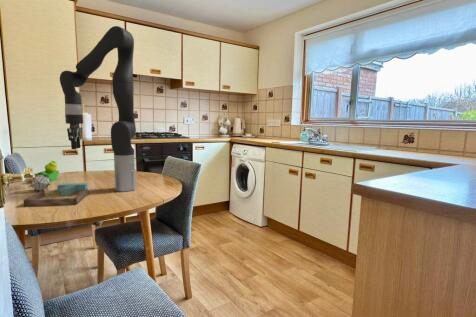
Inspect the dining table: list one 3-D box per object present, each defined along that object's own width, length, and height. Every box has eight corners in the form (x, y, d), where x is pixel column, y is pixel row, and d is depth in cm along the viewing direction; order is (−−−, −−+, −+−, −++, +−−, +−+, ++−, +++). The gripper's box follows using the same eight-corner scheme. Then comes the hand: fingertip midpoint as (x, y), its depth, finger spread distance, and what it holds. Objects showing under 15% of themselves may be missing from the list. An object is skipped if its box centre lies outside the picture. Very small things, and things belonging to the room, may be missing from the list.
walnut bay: (88, 194, 130) (88, 189, 129) (76, 204, 115) (76, 198, 115) (42, 196, 126) (41, 190, 126) (23, 206, 111) (23, 200, 111)
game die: (38, 199, 133) (21, 185, 127) (40, 189, 140) (24, 175, 134) (56, 189, 135) (40, 175, 128) (57, 180, 141) (42, 165, 135)
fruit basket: (45, 179, 159) (44, 159, 158) (62, 179, 160) (61, 159, 159) (33, 184, 148) (31, 162, 146) (51, 184, 149) (50, 162, 147)
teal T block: (87, 188, 140) (87, 182, 140) (80, 194, 129) (80, 188, 129) (60, 189, 138) (60, 183, 137) (51, 195, 127) (50, 189, 127)
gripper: (77, 113, 133) (79, 150, 135) (86, 114, 147) (88, 147, 149) (59, 113, 132) (62, 150, 134) (70, 113, 145) (72, 147, 148)
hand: (76, 148), depth 142 cm, fingers open, 4 cm apart
